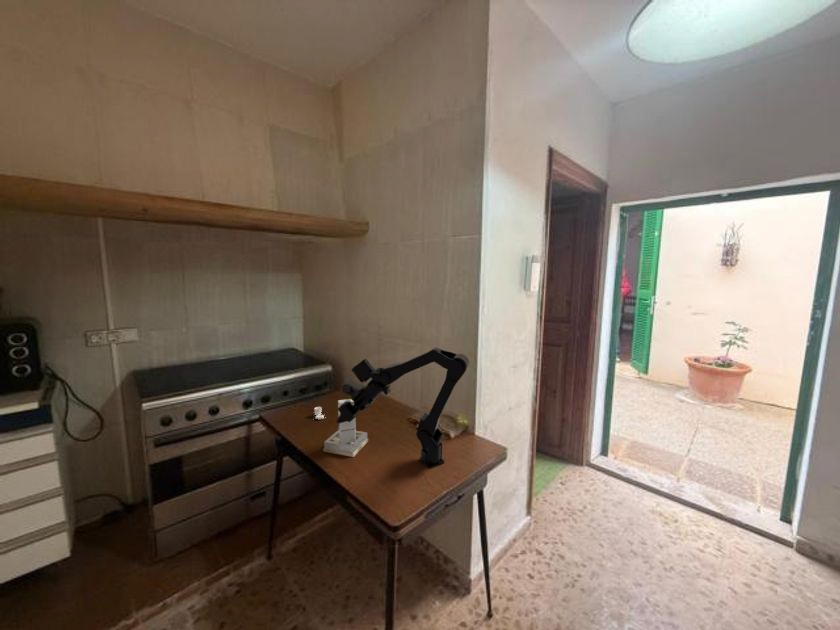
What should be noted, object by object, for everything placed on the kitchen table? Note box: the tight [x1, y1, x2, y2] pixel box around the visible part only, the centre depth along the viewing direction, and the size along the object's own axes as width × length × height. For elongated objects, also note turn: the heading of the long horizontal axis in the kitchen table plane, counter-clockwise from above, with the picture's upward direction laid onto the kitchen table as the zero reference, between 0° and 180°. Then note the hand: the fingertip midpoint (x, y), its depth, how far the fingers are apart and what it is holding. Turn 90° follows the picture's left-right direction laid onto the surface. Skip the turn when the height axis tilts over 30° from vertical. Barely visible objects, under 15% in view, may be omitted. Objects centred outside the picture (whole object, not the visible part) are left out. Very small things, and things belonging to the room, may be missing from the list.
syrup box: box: [337, 398, 357, 444], centre depth 121 cm, size 6×6×14 cm
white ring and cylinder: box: [314, 406, 325, 420], centre depth 148 cm, size 9×8×4 cm
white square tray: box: [322, 429, 369, 458], centre depth 122 cm, size 12×12×4 cm
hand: (343, 417), depth 122 cm, fingers open, 8 cm apart
